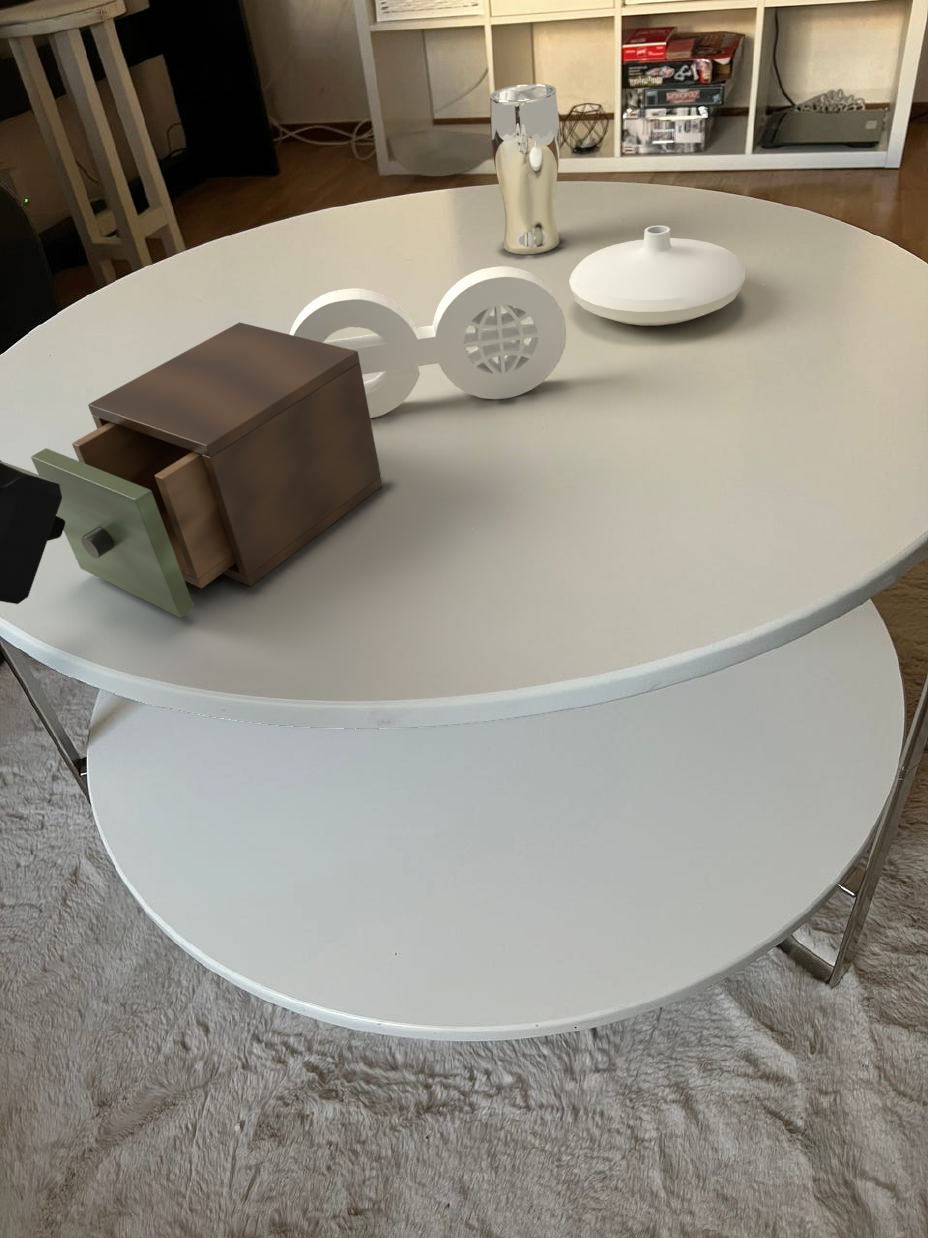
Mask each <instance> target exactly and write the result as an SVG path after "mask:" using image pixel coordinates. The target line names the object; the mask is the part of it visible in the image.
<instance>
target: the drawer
mask: <svg viewBox="0 0 928 1238" xmlns="http://www.w3.org/2000/svg"><path fill="white" fill-rule="evenodd" d="M71 445H72V448H73V450H74V452H75V455H76V457H77V459H74V458H72V457H69V456H67V455H64V454H62V453H59V452H57V451H54V450H52V449H49V448H46V447H45V448H44V449H42V450H40V451H38V452H37V453H35V454H33V455H31V456H30V458H31V461H32V464H33V466H34V468H35V470H36V472H37V475H39V476H42V477H44V478H46V479H49V480H51V481H54V482H56V483H58V484H59V485H60V490H61V494H62V500H61V503H60V506H59V509H58V512H57V515H56V516H58V517H60V518H62V519H64V520H65V526H64V529H63V533H64V534H65V537H66V539H67V541H68V544H69V546H70V549H71V550H72V552H73V555H74V557H75V559H76V561H77V563H78V566H79V568H80V569H81V570H83V571H85V572H87V573H89V574H91V575H93V576H95V577H97V578H98V579H101V580H103V581H105V582H107V583H109V584H111V585H113V586H115V587H117V588H119V589H121V590H123V591H125V592H128V593H130V594H131V595H132V596H133V595H134V596H135V597H138V598H139V599H142V600H144V601H146V602H148V603H150V604H152V605H154V606H155V607H158V608H160V609H162V610H164V611H166V612H168V613H170V614H172V615H174V616H176V617H178V618H182V617H183V616H185V615H187V613H189V612H190V611H192V610H193V609H194V608H195V605H194V603H193V600H192V596H191V594H190V592H189V588H188V586H187V584H186V582H187V583H190V584H191V585H193V586H196V587H197V588H199V589H203V588H204V587H206V586H207V585H209V584H210V583H211V582H212V581H214V580H216V578H218V577H219V576H221V575H223V574H222V573H223V572H225V571H226V570H227V569H229V568H230V567H232V566H233V565H234V564H236V560H235V557H234V554H233V551H232V548H231V544H230V541H229V538H228V535H227V532H226V529H225V526H224V522H223V519H222V516H221V513H220V510H219V507H218V504H217V500H216V497H215V494H214V491H213V488H212V485H211V482H210V478H209V475H208V472H207V469H206V466H205V463H204V460H203V456H202V455H203V454H200V453H197V452H194V451H191V450H189V449H186V448H183V447H180V446H177V445H175V444H172V443H169V442H166V441H163V440H161V439H158V438H155V437H152V436H149V435H147V434H144V433H141V432H138V431H135V430H132V429H130V428H127V427H124V426H121V425H118V424H116V423H113V422H109V423H107V424H105V425H104V426H102V427H100V428H98V429H97V428H96V429H94V430H93V431H91V432H90V433H88V434H86V435H84V436H82V437H80V438H79V439H77V440H75V441H73V442H72V443H71Z"/></svg>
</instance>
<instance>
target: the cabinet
mask: <svg viewBox="0 0 928 1238" xmlns="http://www.w3.org/2000/svg"><path fill="white" fill-rule="evenodd" d="M359 362H360V360H359V355H358V351H354V350H350V349H346V348H342V347H338V346H334V345H330V344H326V343H322V342H318V341H314V340H309V339H305V338H301V337H297V336H293V335H290V333H289V334H288V333H285V332H281V331H277V330H272V329H269V328H264V327H260V326H256V325H252V324H248V323H244V322H238V323H236V324H233V325H232V326H230V327H228V328H226V329H225V330H222V331H220V332H219V333H217V334H215V335H213V336H212V337H209V338H207V339H206V340H203V341H202V342H200V343H198V344H196V345H195V346H193V347H191V348H189V349H187V350H186V351H184V352H182V353H180V354H178V355H177V356H175V357H173V358H171V359H169V360H167V361H165V362H164V363H162V364H159V365H158V366H156V367H154V368H153V369H151V370H149V371H147V372H145V373H143V374H141V375H139V376H137V377H136V378H134V379H131V380H130V381H128V382H127V383H125V384H123V385H121V386H119V387H118V388H115V389H113V390H111V391H110V392H108V393H106V394H104V395H102V396H100V397H99V398H97V399H95V400H93V401H92V402H90V403H88V404H87V407H88V410H89V411H90V414H91V417H92V419H93V422H94V425H95V427H96V429H98V428H100V427H102V426H104V425H105V424H107V423H109V422H113V423H116V424H118V425H121V426H124V427H127V428H130V429H132V430H135V431H138V432H141V433H144V434H147V435H149V436H152V437H155V438H158V439H161V440H163V441H166V442H169V443H172V444H175V445H177V446H180V447H183V448H186V449H189V450H191V451H194V452H197V453H200V454H203V455H202V456H203V460H204V463H205V466H206V469H207V472H208V475H209V478H210V482H211V485H212V488H213V491H214V494H215V497H216V500H217V504H218V507H219V510H220V513H221V516H222V519H223V522H224V526H225V529H226V532H227V535H228V538H229V541H230V544H231V548H232V551H233V554H234V557H235V560H236V564H234V565H233V566H232V567H230V568H229V569H227V570H226V571H225V572H223V573H222V574H221V575H223V576H226V577H228V578H230V579H233V580H235V581H237V582H240V583H242V584H244V585H247V586H249V587H252V586H253V585H254V584H255V583H257V582H258V581H259V580H262V578H263V577H265V576H267V574H269V573H270V572H272V571H273V570H274V569H276V568H277V567H278V566H279V565H281V564H282V563H283V562H285V561H286V560H287V559H289V558H290V557H292V555H294V554H295V553H296V552H298V551H299V550H300V549H302V548H303V547H304V546H306V545H307V544H308V543H310V542H311V541H312V540H313V539H315V538H316V537H317V536H319V535H320V534H321V533H323V532H324V531H325V530H326V529H329V527H331V526H332V525H333V524H334V523H336V522H337V521H338V520H340V519H341V518H342V517H343V516H345V515H346V514H348V513H349V512H350V511H351V510H353V509H354V508H355V507H357V506H358V505H359V504H360V503H362V502H363V501H365V500H366V499H367V498H369V497H370V496H371V495H372V494H373V493H375V492H376V491H378V490H379V489H380V488H382V487H383V480H382V475H381V470H380V469H381V468H380V464H379V458H378V453H377V448H376V443H375V436H374V431H373V426H372V420H371V418H370V415H369V409H368V404H367V398H366V393H365V388H364V382H365V381H364V377H363V375H362V371H361V366H360V363H359Z"/></svg>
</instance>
